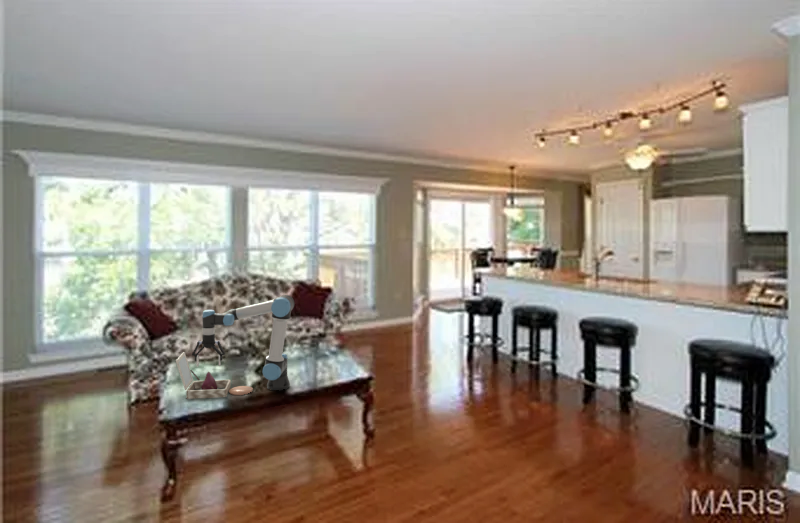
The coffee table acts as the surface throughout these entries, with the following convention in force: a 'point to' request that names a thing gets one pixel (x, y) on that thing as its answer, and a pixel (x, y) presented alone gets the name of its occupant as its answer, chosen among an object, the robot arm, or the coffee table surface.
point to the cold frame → (207, 393)
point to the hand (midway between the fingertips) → (208, 365)
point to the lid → (184, 370)
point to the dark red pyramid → (209, 383)
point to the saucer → (240, 390)
